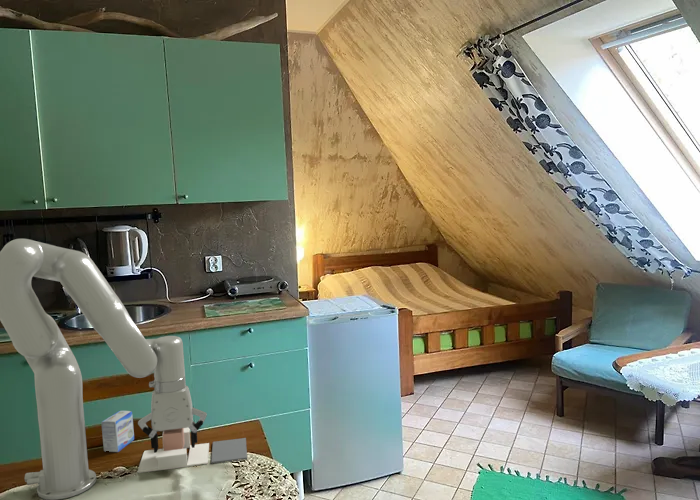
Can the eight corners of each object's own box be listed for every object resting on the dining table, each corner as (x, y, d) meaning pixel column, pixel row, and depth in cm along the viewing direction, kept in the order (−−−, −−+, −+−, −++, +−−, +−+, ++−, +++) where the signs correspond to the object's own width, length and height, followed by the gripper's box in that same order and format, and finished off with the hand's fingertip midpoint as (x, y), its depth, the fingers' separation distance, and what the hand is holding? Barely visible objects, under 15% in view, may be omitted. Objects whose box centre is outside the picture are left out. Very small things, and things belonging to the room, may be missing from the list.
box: (164, 464, 141) (162, 434, 141) (167, 454, 147) (165, 425, 146) (183, 462, 142) (181, 432, 142) (185, 452, 148) (183, 423, 147)
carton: (135, 477, 135) (134, 460, 135) (145, 448, 151) (144, 432, 151) (207, 468, 139) (206, 451, 138) (209, 440, 155) (208, 425, 154)
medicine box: (117, 453, 149) (115, 422, 148) (103, 451, 150) (100, 421, 149) (134, 440, 157) (132, 410, 156) (120, 439, 157) (118, 409, 157)
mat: (211, 463, 141) (211, 462, 141) (212, 443, 153) (212, 441, 153) (247, 459, 143) (247, 457, 143) (245, 439, 155) (245, 437, 154)
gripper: (132, 393, 137) (137, 458, 139) (204, 385, 141) (208, 449, 143) (137, 383, 145) (142, 445, 146) (205, 376, 148) (209, 437, 150)
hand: (175, 447), depth 145 cm, fingers open, 9 cm apart
